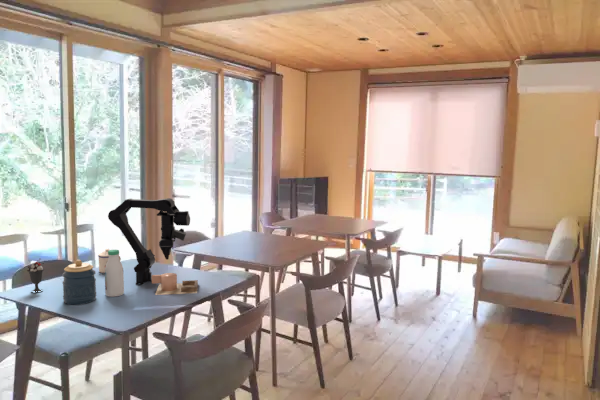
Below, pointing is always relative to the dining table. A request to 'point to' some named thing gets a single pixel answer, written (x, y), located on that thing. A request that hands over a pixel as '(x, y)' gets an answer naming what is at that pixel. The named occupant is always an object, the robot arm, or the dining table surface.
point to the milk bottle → (114, 275)
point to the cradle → (181, 288)
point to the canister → (79, 283)
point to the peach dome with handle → (166, 281)
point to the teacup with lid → (103, 260)
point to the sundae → (36, 274)
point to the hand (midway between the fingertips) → (168, 257)
